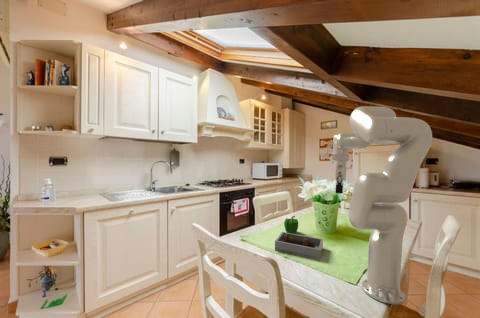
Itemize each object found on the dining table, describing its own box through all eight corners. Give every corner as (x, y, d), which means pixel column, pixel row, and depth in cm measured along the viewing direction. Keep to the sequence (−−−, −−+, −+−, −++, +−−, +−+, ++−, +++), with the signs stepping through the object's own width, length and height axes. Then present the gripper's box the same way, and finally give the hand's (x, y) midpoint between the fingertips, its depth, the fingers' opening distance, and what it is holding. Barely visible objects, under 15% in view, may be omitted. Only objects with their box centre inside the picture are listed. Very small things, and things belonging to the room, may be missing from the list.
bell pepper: (288, 236, 126) (289, 218, 125) (281, 230, 134) (282, 214, 133) (301, 234, 128) (302, 217, 128) (294, 229, 136) (294, 213, 136)
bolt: (314, 253, 106) (283, 246, 112) (315, 244, 110) (285, 238, 116) (314, 245, 103) (283, 239, 109) (315, 237, 107) (284, 231, 113)
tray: (320, 260, 98) (320, 250, 98) (274, 250, 107) (275, 241, 107) (322, 247, 111) (323, 239, 111) (281, 239, 120) (282, 231, 120)
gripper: (349, 159, 103) (347, 195, 104) (348, 158, 119) (346, 189, 119) (331, 158, 106) (330, 193, 107) (333, 157, 122) (331, 188, 123)
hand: (339, 191), depth 113 cm, fingers open, 9 cm apart
